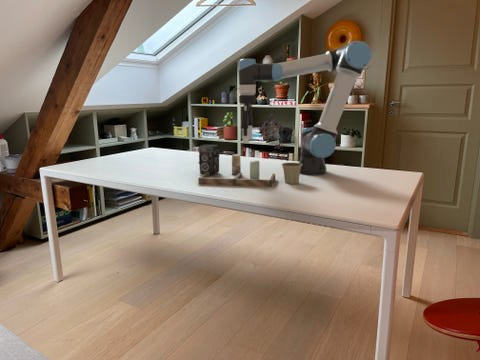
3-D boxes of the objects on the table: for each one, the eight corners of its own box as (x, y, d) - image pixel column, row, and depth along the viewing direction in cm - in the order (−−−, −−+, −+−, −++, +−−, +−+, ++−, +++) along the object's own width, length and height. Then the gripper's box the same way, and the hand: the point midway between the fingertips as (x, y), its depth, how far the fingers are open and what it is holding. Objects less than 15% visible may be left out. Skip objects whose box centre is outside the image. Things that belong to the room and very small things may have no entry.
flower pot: (277, 182, 167) (277, 164, 165) (290, 179, 172) (291, 161, 170) (292, 186, 160) (292, 167, 157) (305, 182, 165) (306, 164, 163)
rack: (275, 179, 171) (275, 173, 171) (271, 187, 158) (272, 180, 157) (207, 177, 178) (206, 171, 177) (198, 184, 165) (198, 177, 164)
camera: (195, 176, 181) (194, 146, 178) (203, 171, 191) (202, 143, 188) (214, 177, 178) (213, 147, 175) (222, 172, 188) (221, 144, 185)
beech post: (241, 173, 186) (241, 154, 183) (239, 175, 181) (239, 156, 179) (233, 173, 186) (232, 154, 184) (231, 175, 182) (230, 155, 180)
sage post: (260, 181, 168) (260, 160, 166) (258, 183, 164) (258, 162, 162) (250, 181, 169) (250, 160, 167) (249, 183, 165) (249, 162, 162)
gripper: (243, 94, 175) (243, 137, 180) (234, 94, 151) (235, 144, 157) (258, 94, 174) (258, 137, 179) (252, 94, 150) (252, 144, 155)
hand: (247, 141), depth 168 cm, fingers open, 13 cm apart
